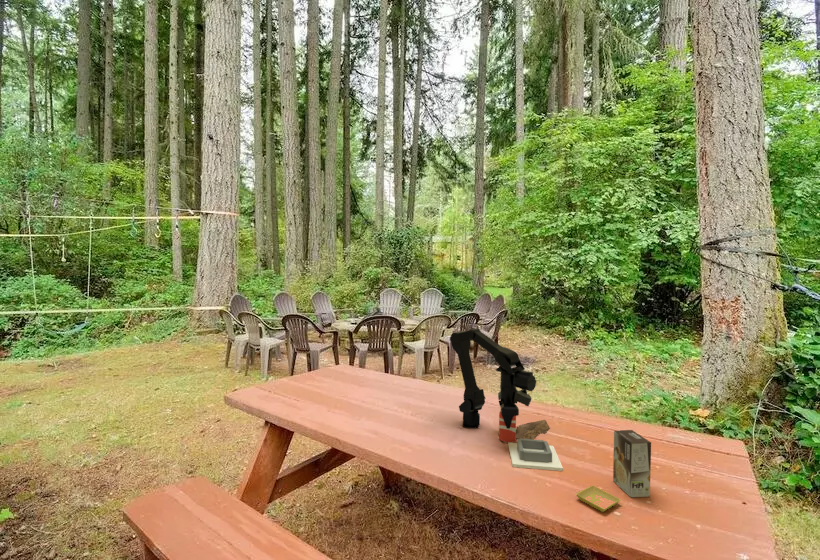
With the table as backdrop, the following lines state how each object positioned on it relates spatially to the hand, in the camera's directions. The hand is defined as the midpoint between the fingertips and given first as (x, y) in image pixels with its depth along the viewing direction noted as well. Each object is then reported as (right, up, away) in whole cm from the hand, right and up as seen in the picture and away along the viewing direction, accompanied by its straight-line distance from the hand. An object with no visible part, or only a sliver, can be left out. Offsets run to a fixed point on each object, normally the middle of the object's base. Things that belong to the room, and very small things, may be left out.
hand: (507, 424), depth 150 cm
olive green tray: (+16, -8, -39) cm, 43 cm away
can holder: (+6, -7, -13) cm, 16 cm away
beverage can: (0, -6, 0) cm, 6 cm away
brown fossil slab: (+13, -6, +10) cm, 18 cm away
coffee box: (+29, -8, -32) cm, 44 cm away
